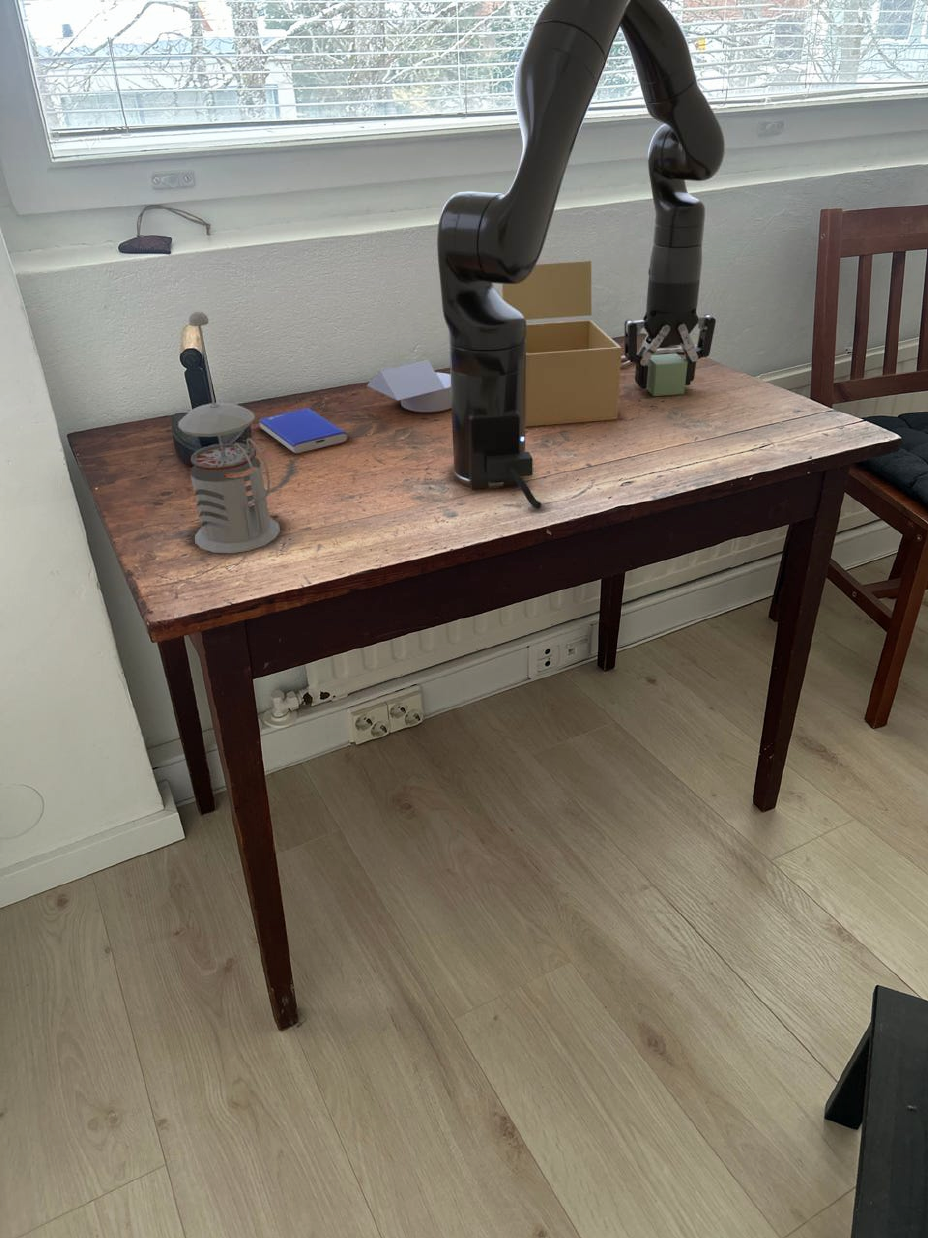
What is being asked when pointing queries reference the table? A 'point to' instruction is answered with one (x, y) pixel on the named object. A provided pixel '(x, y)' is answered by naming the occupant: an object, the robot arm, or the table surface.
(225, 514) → the french press
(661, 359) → the block
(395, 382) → the wedge on round base
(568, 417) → the carton
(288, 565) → the table surface
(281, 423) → the hard drive
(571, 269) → the flap
